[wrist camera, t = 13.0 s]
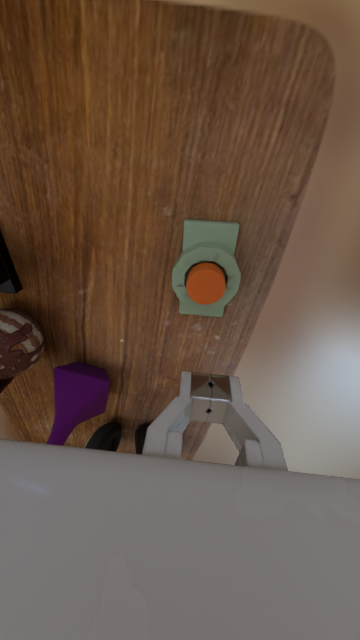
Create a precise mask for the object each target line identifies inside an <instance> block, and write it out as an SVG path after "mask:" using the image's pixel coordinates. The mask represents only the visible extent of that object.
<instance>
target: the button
mask: <svg viewBox="0 0 360 640" xmlns="http://www.w3.org/2000/svg"><path fill="white" fill-rule="evenodd" d="M186 290H187V293H188V295H189V297H190V298H191V299H192V300H193V301H194V302H196V303H199V304H203V305H208V304H213V303H215V302H217V301H218V300H220V299H221V298H222V296H223V295H224V293H225V290H226V283H225V278H224V274H223V272H222V270H221V269H220V268H219V267H218V266H217V265H215V264H213V263H207V262H205V263H200V264H197V265H196V266H194V267H193V268H192V269H191V270H190V272H189V274H188V277H187V284H186Z"/></svg>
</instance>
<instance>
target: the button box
mask: <svg viewBox="0 0 360 640" xmlns="http://www.w3.org/2000/svg"><path fill="white" fill-rule="evenodd" d="M239 226H240V225H239V223H235V222H221V221H207V220H192V219H185V220H184V231H183V249H182V253H181V255H180V256H179V258H178V259H177V261H176V262H175V264H174V267H173V271H172V288H173V290H174V291H175V293H176V295H177V296H178V298H179V300H180V302H179V313H181V314H192V315H204V316H215V317H222V316H223V311H224V306H225V305H226V304H227V303H228V302H229V301H230V300H231V299H232V298H233V297H234V296H235V295H236V294H237V292H238V289H239V284H240V280H241V273H240V270H239V267H238V265H237V262H236V260H235V257H234V253H235V247H236V242H237V237H238V231H239ZM205 262H207V263H213V264H215V265H217V266H218V267H219V268H220V269H221V270H222V272H223V274H224V278H225V283H226V290H225V293H224V295H223V296H222V298H221V299H220V300H218V301H217V302H215V303H213V304H208V305H203V304H199V303H196V302H194V301H193V300H192V299H191V298H190V297H189V295H188V293H187V290H186V284H187V277H188V274H189V272H190V270H191V269H192V268H193V267H194V266H196V265H197V264H200V263H205Z"/></svg>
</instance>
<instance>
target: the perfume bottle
mask: <svg viewBox="0 0 360 640" xmlns="http://www.w3.org/2000/svg"><path fill="white" fill-rule="evenodd" d="M110 383H111V382H110V380H109V378H108V375H107V373H106V371H105V369H103V368H99V367H95V366H91V365H88V364H84V363H80V362H76V363H72V364H67V365H63V366H58V367H55V368H54V397H55V418H54V424H53V427H52V431H51V434H50V437H49V439H48V441H47V444H52V445H61V446H64V444H65V442H66V439H67V438H68V436H69V435H70V433H71V432H72V430H73V429H74V428H75V427H76V426H77V425H78V424H80V423H82V422H84V421H86V420H88V419H90V418H92V417H95V416H97V415H100V414H102V413H104V412H105V408H106V403H107V398H108V393H109V388H110Z"/></svg>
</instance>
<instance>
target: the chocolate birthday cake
mask: <svg viewBox="0 0 360 640" xmlns="http://www.w3.org/2000/svg"><path fill="white" fill-rule="evenodd" d="M44 347H45V337H44V333H43V331H42V329H41V327H40V326H39V324H38V323H37V322H36V321H35V320H34V319H33V318H32V317H30V316H28V315H27V314H25V313H22V312H20V311H16V310H11V309H0V393H1V392H2V391H3V390H4V388H5V387H6V386H7V385H8V384H9V383H10V382H11V381H12V379H13V378H14V377H15V376H18V375H20V374H22V373H24V372H26V371H27V370H29V369H31V368H32V367H33V366H34V365H35V364H36V362H37V361H38V360H39V358H40V357H41V355H42V353H43V351H44Z"/></svg>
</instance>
